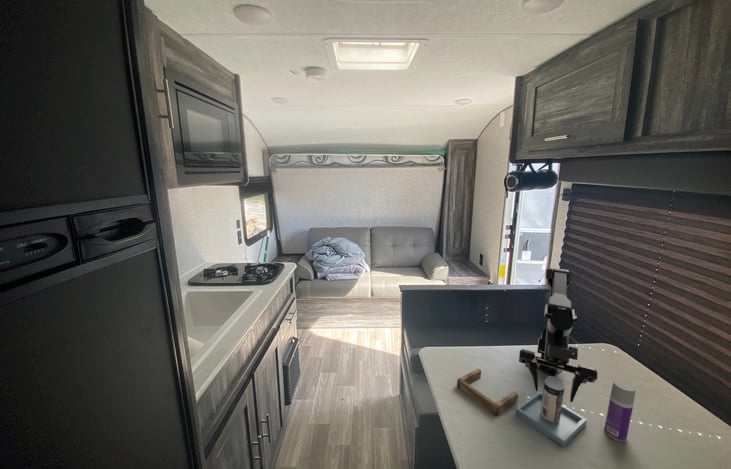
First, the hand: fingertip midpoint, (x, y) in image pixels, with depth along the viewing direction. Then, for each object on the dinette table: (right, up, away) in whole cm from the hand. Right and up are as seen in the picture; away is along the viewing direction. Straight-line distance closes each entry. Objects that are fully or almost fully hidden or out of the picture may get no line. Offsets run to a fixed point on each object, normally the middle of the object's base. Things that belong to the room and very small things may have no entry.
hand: (553, 396), depth 81 cm
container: (+16, -9, -2) cm, 18 cm away
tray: (+1, -8, +3) cm, 9 cm away
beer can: (+1, -8, +3) cm, 8 cm away
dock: (-13, -6, +13) cm, 19 cm away
